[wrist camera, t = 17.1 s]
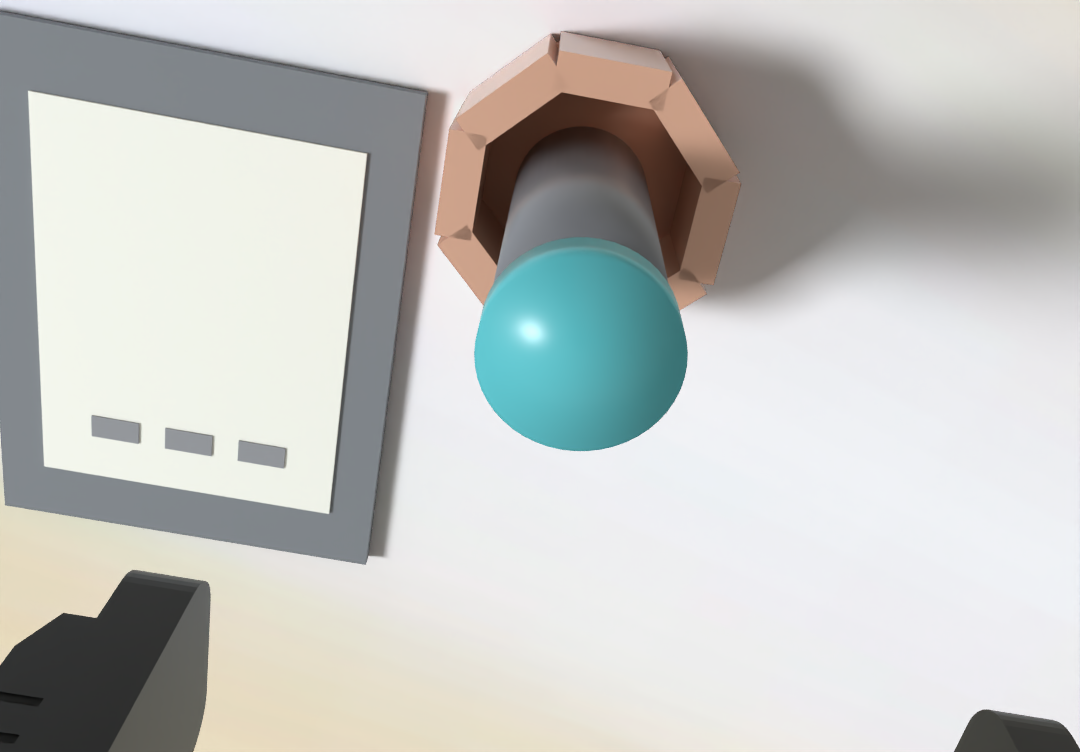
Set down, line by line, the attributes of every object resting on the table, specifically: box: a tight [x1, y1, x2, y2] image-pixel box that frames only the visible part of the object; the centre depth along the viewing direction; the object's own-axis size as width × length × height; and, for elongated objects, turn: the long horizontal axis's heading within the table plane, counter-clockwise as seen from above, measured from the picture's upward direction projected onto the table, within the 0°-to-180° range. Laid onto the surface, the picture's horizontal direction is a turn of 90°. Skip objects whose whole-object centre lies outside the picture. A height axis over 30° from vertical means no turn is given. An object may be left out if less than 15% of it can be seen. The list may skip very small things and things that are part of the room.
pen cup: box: [435, 31, 741, 310], centre depth 29 cm, size 8×8×4 cm
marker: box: [474, 126, 688, 451], centre depth 24 cm, size 4×4×12 cm
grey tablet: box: [0, 11, 428, 565], centre depth 32 cm, size 17×13×1 cm
